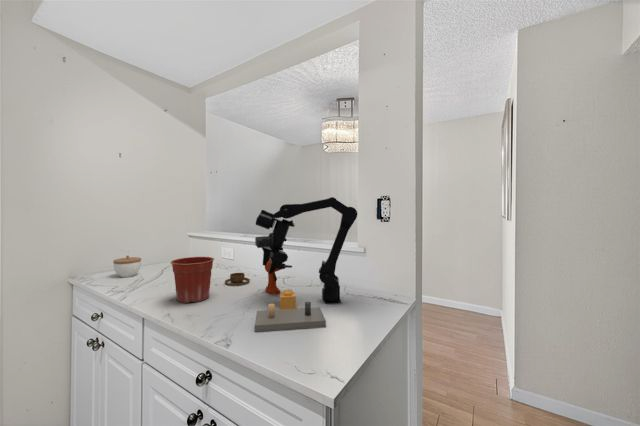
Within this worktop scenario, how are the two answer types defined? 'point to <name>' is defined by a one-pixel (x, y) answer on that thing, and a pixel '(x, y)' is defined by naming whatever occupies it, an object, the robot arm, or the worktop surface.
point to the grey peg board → (289, 318)
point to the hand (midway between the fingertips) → (266, 269)
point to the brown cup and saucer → (237, 279)
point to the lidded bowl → (127, 266)
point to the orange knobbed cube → (287, 300)
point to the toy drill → (273, 278)
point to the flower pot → (192, 278)
